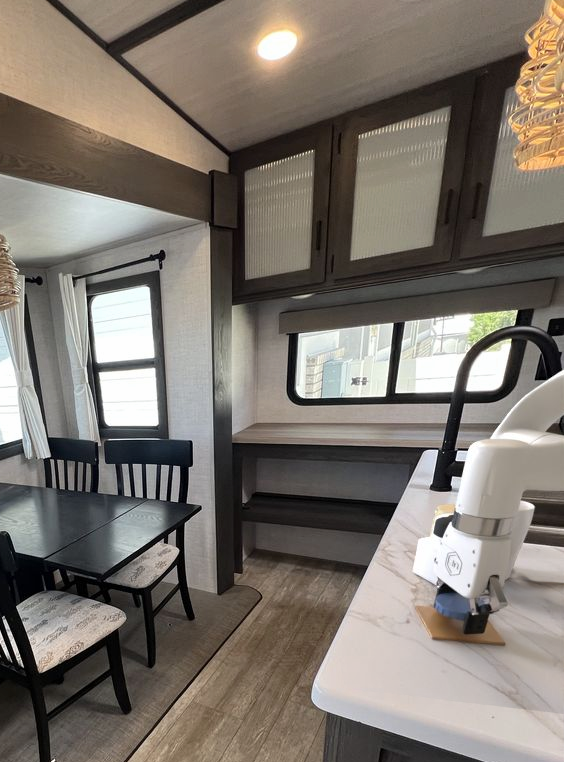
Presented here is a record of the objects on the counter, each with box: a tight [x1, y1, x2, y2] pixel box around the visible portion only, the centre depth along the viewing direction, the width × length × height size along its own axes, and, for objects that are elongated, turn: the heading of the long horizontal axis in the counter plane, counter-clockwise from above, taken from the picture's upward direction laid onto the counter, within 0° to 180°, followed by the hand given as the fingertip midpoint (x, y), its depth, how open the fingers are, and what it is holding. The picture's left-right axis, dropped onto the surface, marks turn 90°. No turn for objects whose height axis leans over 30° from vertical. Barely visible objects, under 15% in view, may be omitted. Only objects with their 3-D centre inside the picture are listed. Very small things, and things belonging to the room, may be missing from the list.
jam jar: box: [429, 503, 456, 537], centre depth 104 cm, size 7×7×9 cm
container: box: [412, 514, 453, 587], centre depth 91 cm, size 8×8×13 cm
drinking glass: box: [505, 500, 536, 581], centre depth 90 cm, size 7×7×15 cm
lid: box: [434, 592, 484, 621], centre depth 78 cm, size 7×7×1 cm
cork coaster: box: [414, 605, 506, 646], centre depth 79 cm, size 10×10×1 cm
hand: (457, 619), depth 79 cm, fingers closed on lid, 7 cm apart
